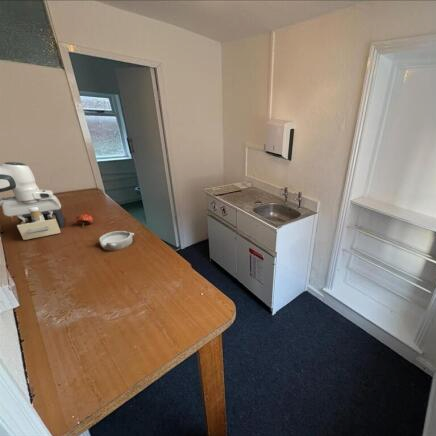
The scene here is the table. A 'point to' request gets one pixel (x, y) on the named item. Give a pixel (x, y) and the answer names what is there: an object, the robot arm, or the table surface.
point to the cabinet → (57, 212)
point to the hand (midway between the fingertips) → (38, 220)
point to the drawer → (39, 227)
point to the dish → (116, 240)
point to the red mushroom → (84, 219)
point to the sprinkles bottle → (36, 214)
